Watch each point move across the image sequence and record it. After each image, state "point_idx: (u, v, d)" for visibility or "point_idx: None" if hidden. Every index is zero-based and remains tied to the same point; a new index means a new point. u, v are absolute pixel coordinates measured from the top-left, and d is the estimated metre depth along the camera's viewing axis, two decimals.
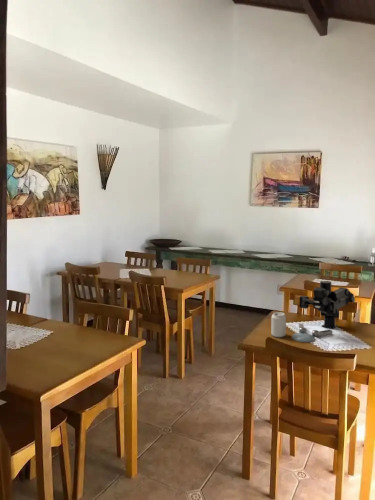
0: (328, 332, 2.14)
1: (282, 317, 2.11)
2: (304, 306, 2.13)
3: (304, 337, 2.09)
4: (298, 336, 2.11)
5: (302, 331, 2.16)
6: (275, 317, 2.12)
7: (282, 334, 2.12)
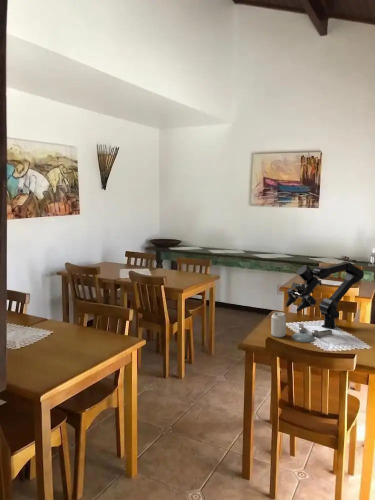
0: (328, 332, 2.14)
1: (282, 317, 2.11)
2: (291, 302, 2.22)
3: (304, 337, 2.09)
4: (298, 336, 2.11)
5: (302, 331, 2.16)
6: (275, 317, 2.12)
7: (282, 334, 2.12)
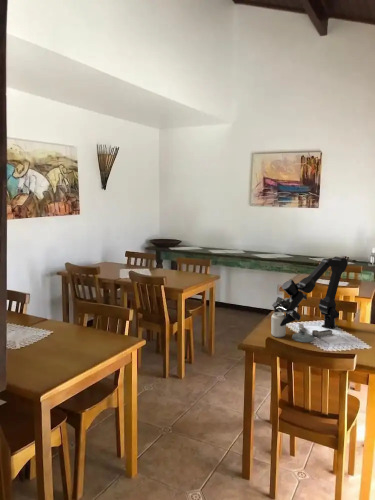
0: (328, 332, 2.14)
1: (282, 317, 2.11)
2: None
3: (304, 337, 2.09)
4: (298, 336, 2.11)
5: (302, 331, 2.16)
6: (275, 317, 2.12)
7: (282, 334, 2.12)
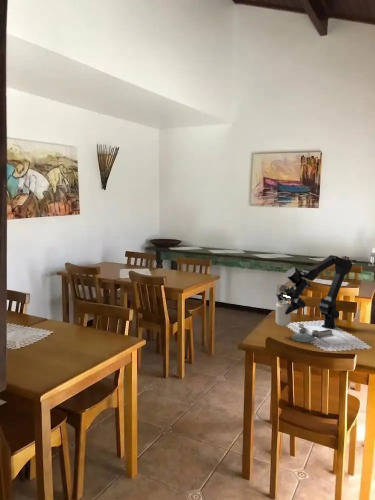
0: (328, 332, 2.14)
1: (287, 305, 2.09)
2: None
3: (304, 337, 2.09)
4: (298, 336, 2.11)
5: (302, 331, 2.16)
6: (280, 305, 2.10)
7: (287, 322, 2.10)
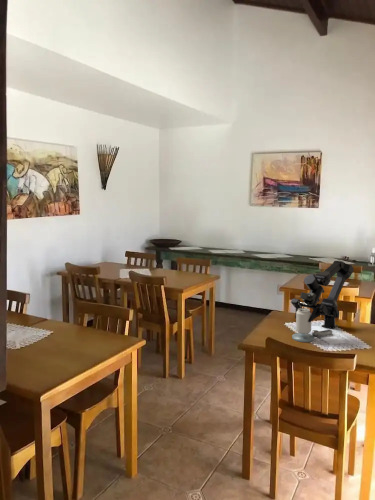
0: (328, 332, 2.14)
1: (309, 313, 2.06)
2: None
3: (304, 337, 2.09)
4: (298, 336, 2.11)
5: None
6: (303, 313, 2.06)
7: (309, 330, 2.07)
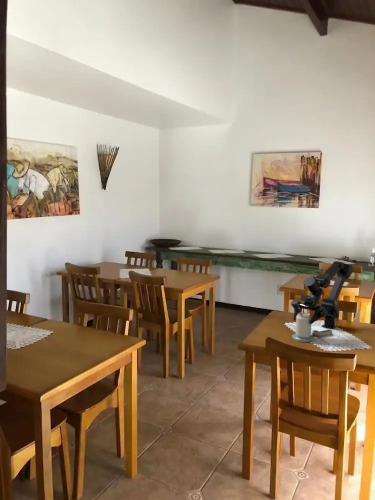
0: (328, 332, 2.14)
1: (309, 317, 2.07)
2: None
3: None
4: None
5: None
6: (303, 318, 2.06)
7: (309, 335, 2.08)
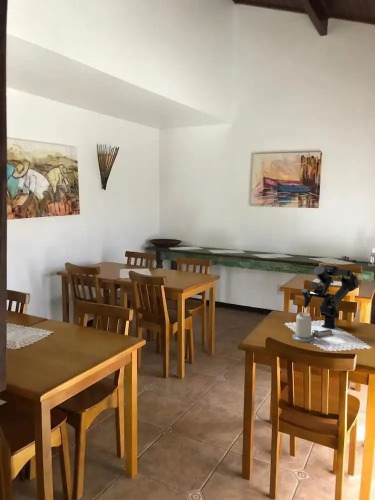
0: (328, 332, 2.14)
1: (309, 317, 2.07)
2: (307, 302, 2.19)
3: None
4: None
5: None
6: (303, 318, 2.06)
7: (309, 335, 2.08)
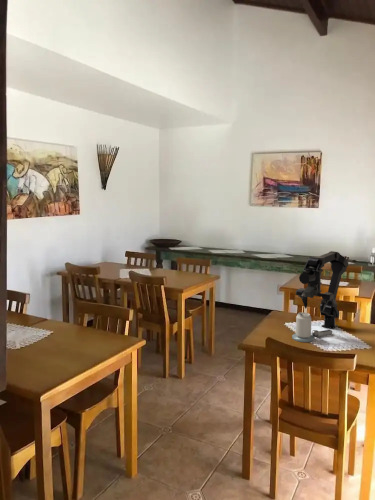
0: (328, 332, 2.14)
1: (309, 317, 2.07)
2: (306, 301, 2.19)
3: None
4: None
5: None
6: (303, 318, 2.06)
7: (309, 335, 2.08)
